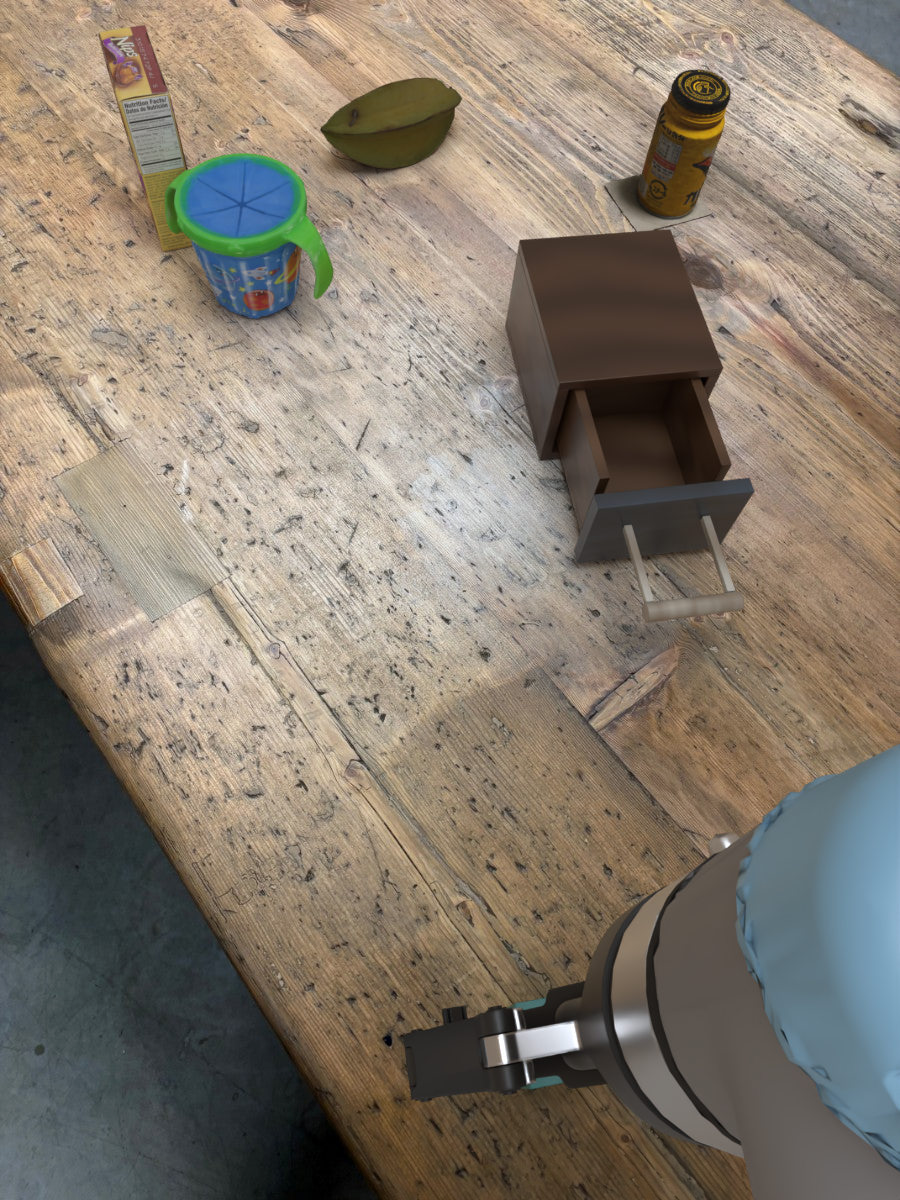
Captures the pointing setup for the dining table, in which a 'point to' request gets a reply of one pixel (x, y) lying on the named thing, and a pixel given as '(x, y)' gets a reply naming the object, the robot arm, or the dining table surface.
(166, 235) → the candy box
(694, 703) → the dining table surface
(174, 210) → the snack cup
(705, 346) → the cabinet
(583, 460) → the drawer
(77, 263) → the dining table surface
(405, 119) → the fruit
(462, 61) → the dining table surface
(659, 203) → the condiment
